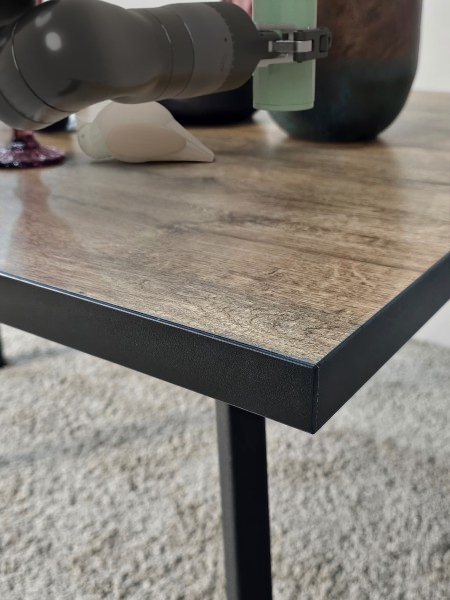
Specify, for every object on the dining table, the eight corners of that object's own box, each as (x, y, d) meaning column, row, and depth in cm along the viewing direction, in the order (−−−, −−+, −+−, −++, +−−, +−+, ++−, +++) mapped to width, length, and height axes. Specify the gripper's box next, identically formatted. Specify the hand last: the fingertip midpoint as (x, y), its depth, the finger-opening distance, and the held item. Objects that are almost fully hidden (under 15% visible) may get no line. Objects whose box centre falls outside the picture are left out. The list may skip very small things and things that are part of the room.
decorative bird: (81, 156, 92) (75, 94, 89) (210, 151, 93) (208, 89, 90) (77, 173, 84) (70, 105, 81) (218, 166, 85) (216, 99, 82)
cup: (244, 110, 74) (243, -9, 70) (263, 101, 80) (264, -10, 75) (304, 112, 72) (307, -10, 68) (320, 103, 77) (323, -11, 73)
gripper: (266, 1, 57) (362, -3, 70) (129, 3, 65) (237, -1, 78) (266, 100, 60) (358, 80, 73) (134, 90, 68) (238, 73, 81)
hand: (295, 38), depth 75 cm, fingers closed on cup, 6 cm apart
